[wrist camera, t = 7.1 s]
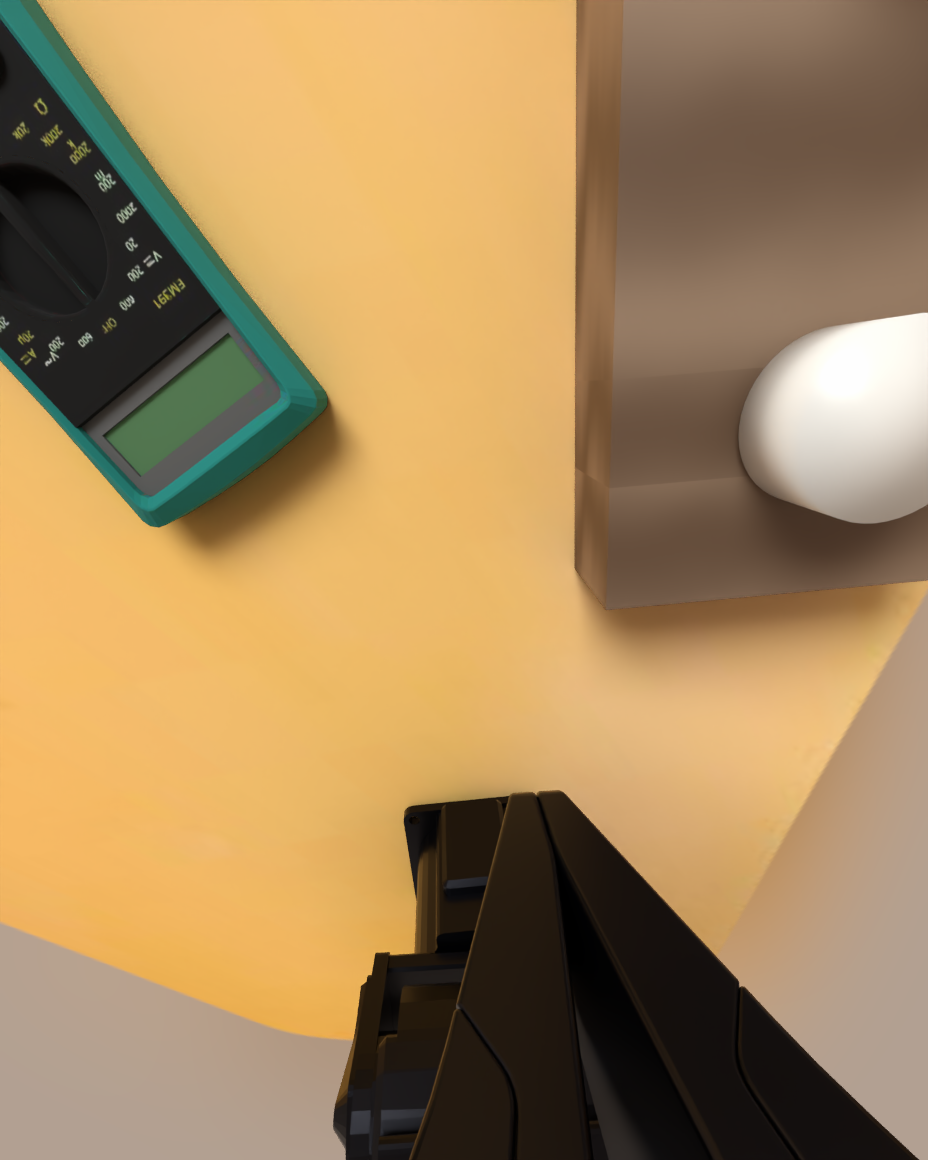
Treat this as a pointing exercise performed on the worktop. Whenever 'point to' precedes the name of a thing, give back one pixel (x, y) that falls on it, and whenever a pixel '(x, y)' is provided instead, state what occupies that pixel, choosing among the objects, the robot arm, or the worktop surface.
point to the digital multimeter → (126, 297)
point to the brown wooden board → (733, 275)
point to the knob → (844, 421)
